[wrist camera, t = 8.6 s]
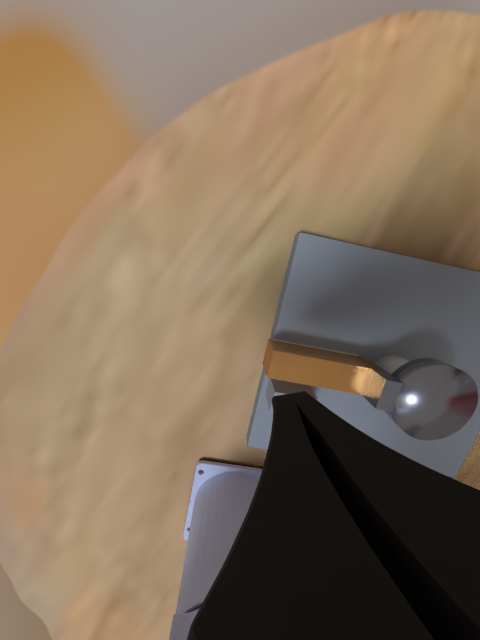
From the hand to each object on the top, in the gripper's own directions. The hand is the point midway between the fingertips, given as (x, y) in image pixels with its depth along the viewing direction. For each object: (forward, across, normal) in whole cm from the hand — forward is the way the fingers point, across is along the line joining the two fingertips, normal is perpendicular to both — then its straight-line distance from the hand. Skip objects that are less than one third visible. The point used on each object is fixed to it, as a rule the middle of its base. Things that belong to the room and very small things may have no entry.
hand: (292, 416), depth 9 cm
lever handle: (+9, -6, +3) cm, 11 cm away
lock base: (+10, -10, +4) cm, 15 cm away
